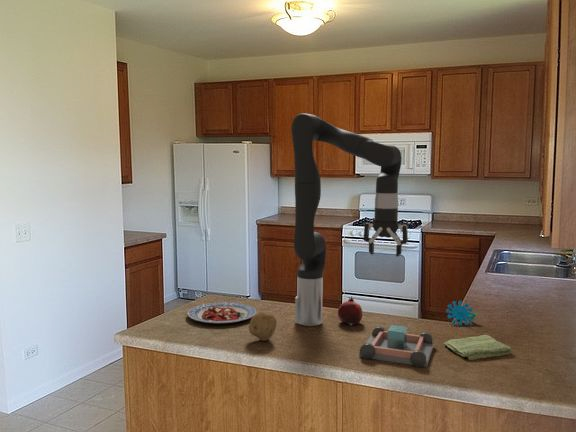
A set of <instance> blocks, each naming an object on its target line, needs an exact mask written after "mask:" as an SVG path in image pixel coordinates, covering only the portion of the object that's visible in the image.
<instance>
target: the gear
mask: <svg viewBox="0 0 576 432" xmlns="http://www.w3.org/2000/svg"><path fill="white" fill-rule="evenodd" d="M462 304H463V300H459V301H458V305H457V301H455V300H453V301H452V304H451V303H448V305H447V309H446V310H445V312H446V313H447V318H448V319H451V323H453V324H455V323H456V322H457V321H458V323H457V325H458V326H460V327H462V325H463V324H464V326H468V325H469V323H472V322H473V321H474V319H475V318H477V316H478V313H477V312H475V313H474V312H473V310H474V309H473V307H469V303H467V302H466V303H464V305H462ZM467 307H469V308H467ZM472 312H473V313H472ZM452 318H453V319H452ZM463 321H464V323H463Z"/></svg>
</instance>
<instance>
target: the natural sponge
mask: <svg viewBox="0 0 576 432" xmlns="http://www.w3.org/2000/svg"><path fill="white" fill-rule="evenodd" d="M277 323H278V322H277V318H276V317H275V315H274V314H273V313H271V312H270V311H266V310H260V311H258V312H256V314H255V315H254V316H253V317H251V318H250V321H249V324H248V331H249V333H250V335H252V336H254V337H256V338H258V339H259V340H260V341H262V342H267V341H268V340H269V339H271V338H272V337H273V336H274V333H275V331H276V328H277Z"/></svg>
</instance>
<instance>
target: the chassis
mask: <svg viewBox="0 0 576 432" xmlns="http://www.w3.org/2000/svg"><path fill="white" fill-rule="evenodd" d="M433 341H434V338H433V335H432V334H431V333H430V332H427V331H423V332H421V333H420V334H419V335H418V334H411V333H410V334H409V333H407V346H406V348H405V350H399V349H392V348H387V342H388V330H386V328H385V327H383V326H380V325H379V326H376V327H374V329H373V330H372V331H371V335H370V336H369V338H368V339H367V341H366V342H365V343H363V344H362V346H361V347H360V349H359V355H358V356H359V358H363V359H365V360H378V361H384V362H390V363H397V364H404V365H410V366H411V365H412V366H414V367H416V368H423V367H425V368H428V366H429V361H430V360H431V359H430V358H431V355H432V353H433V350H434V342H433Z"/></svg>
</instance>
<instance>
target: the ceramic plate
mask: <svg viewBox="0 0 576 432" xmlns="http://www.w3.org/2000/svg"><path fill="white" fill-rule="evenodd" d="M256 313H257V310H256V308H255V307H253V306H251V305H248V304H245V303H240V302H228V301H222V302H210V303H204V304H200V305H197V306H194V307H192V308H190V309H189V310H188V311H187V316H188V317H189V318H190V319H192V320H194V321H197V322H202V323H207V324H208V323H209V324H216V325H217V324H218V325H222V324H223V325H224V324H231V323H232V324H234V323H237V322H241V321H245V320H249V319H252V317H253V316H254V315H255V314H256Z"/></svg>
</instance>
